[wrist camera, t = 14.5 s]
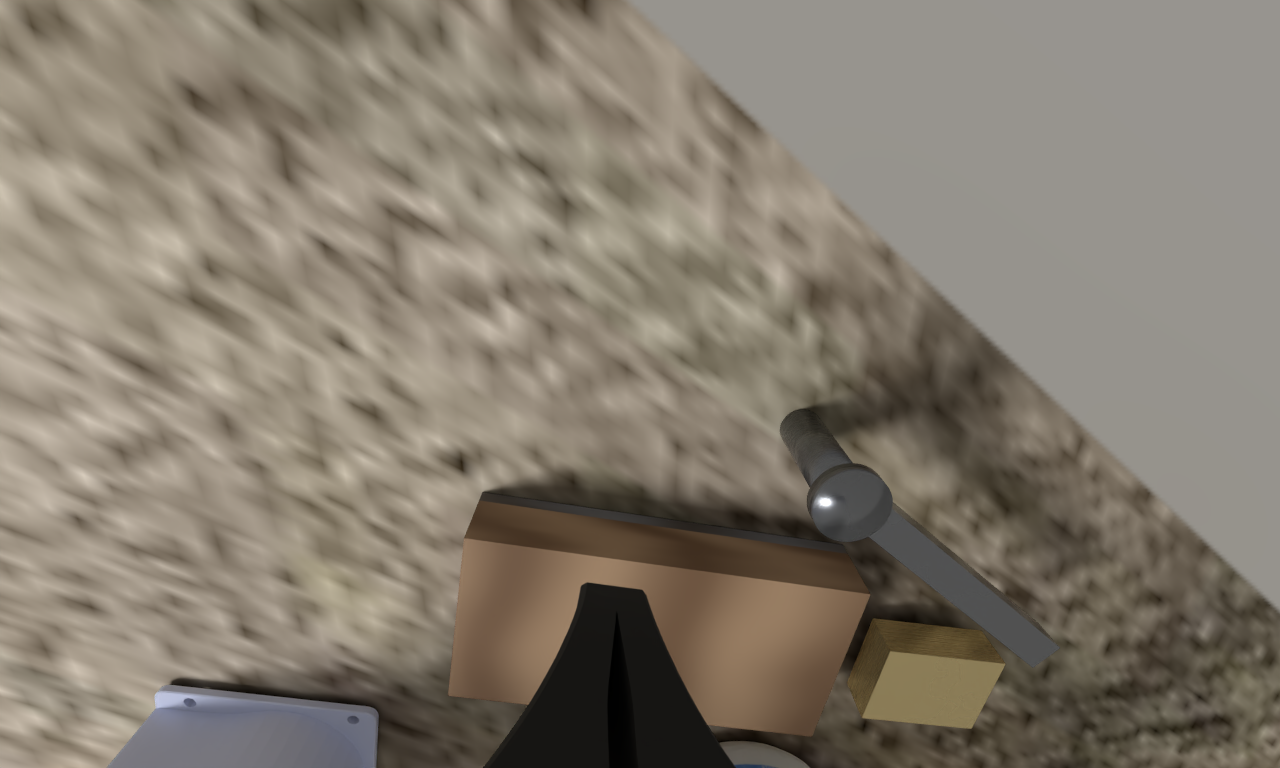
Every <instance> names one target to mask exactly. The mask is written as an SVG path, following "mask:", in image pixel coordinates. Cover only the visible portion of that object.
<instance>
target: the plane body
mask: <svg viewBox="0 0 1280 768" xmlns="http://www.w3.org/2000/svg"><path fill="white" fill-rule="evenodd" d="M587 582H589V583H596V584H604V585H611V586H619V587H626V588H634V589H641V590H643V591H644V592H645V594H646V595H647V599H648V602H649V605H650V608H651V610H652V613H653V616H654V618H655V621H656V624H657V626H658V629H659V631H660V633H661V636H662V638H663V641H664V643H665V645H666V647H667V650H668V652H669V654H670V656H671V658H672V660H673V662H674V664H675V666H676V668H677V671H678V673H679V675H680V677H681V679H682V681H683V682H684V684H685V686H686V688H687V690H688V692H689V694H690V696H691V697H692V699H693V701H694V703H695V705H696V706H697V708H698V710H699V712H700V713H701V715H702V717H703V718H704V720H705V722H706V723H707V725H713V726H721V727H730V728H739V729H748V730H757V731H766V732H775V733H784V734H793V735H802V736H811V737H812V736H813V733H814V731H815V728H816V726H817V723H818V721H819V719H820V716H821V714H822V711H823V709H824V706H825V704H826V702H827V699H828V697H829V694H830V692H831V689H832V687H833V685H834V682H835V680H836V677H837V675H838V672H839V670H840V668H841V665H842V663H843V660H844V658H845V655H846V653H847V651H848V648H849V646H850V643H851V641H852V638H853V636H854V634H855V631H856V629H857V626H858V624H859V621H860V619H861V617H862V614H863V612H864V609H865V607H866V604H867V602H868V600H869V597H870V595H871V594H870V592H869V591H868V589H867V587H866V585H865V584H864V582H863V580H862V578H861V576H860V575H859V573H858V571H857V569H856V568H855V566H854V564H853V562H852V561H851V559H850V557H849V555H848V553H847V552H846V550H845V548H844V546H843V545H840V544H834V543H827V542H820V541H813V540H806V539H799V538H793V537H786V536H779V535H772V534H765V533H758V532H751V531H745V530H738V529H731V528H724V527H717V526H710V525H704V524H697V523H690V522H683V521H676V520H669V519H662V518H656V517H649V516H642V515H635V514H628V513H621V512H614V511H608V510H601V509H594V508H587V507H580V506H573V505H567V504H560V503H553V502H546V501H539V500H532V499H525V498H519V497H512V496H505V495H498V494H491V493H484V492H483V493H482V495H481V498H480V500H479V502H478V505H477V507H476V510H475V512H474V515H473V517H472V520H471V522H470V525H469V527H468V530H467V532H466V535H465V537H464V544H463V554H462V564H461V574H460V583H459V593H458V603H457V612H456V622H455V632H454V642H453V651H452V661H451V671H450V681H449V690H448V696H454V697H463V698H472V699H481V700H490V701H499V702H508V703H517V704H526V705H528V704H529V703H530V701H531V700H532V698H533V696H534V695H535V693H536V692H537V690H538V688H539V687H540V685H541V683H542V681H543V679H544V678H545V676H546V674H547V672H548V670H549V668H550V667H551V665H552V663H553V661H554V659H555V657H556V655H557V653H558V651H559V649H560V647H561V645H562V643H563V640H564V638H565V636H566V634H567V632H568V630H569V627H570V625H571V622H572V619H573V617H574V614H575V611H576V608H577V603H578V598H579V593H580V588H581V585H583V584H585V583H587Z"/></svg>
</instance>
